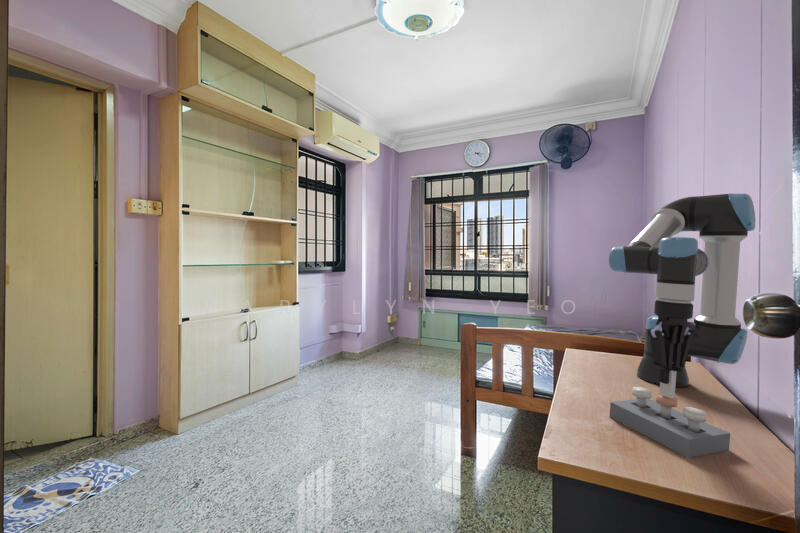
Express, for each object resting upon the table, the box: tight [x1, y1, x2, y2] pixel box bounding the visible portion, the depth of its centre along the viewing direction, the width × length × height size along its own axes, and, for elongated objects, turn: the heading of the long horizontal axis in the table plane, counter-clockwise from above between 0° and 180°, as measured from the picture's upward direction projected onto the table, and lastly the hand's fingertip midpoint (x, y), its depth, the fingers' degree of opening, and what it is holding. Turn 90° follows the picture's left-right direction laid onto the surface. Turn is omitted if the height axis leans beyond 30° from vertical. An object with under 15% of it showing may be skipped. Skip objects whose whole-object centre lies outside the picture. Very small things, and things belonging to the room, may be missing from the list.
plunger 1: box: [631, 386, 653, 409], centre depth 96 cm, size 4×4×5 cm
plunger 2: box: [682, 406, 708, 433], centre depth 84 cm, size 4×4×5 cm
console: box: [609, 398, 731, 458], centre depth 90 cm, size 13×20×4 cm, turn 18°
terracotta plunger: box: [655, 393, 678, 420], centre depth 90 cm, size 4×4×5 cm
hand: (666, 395), depth 90 cm, fingers closed
